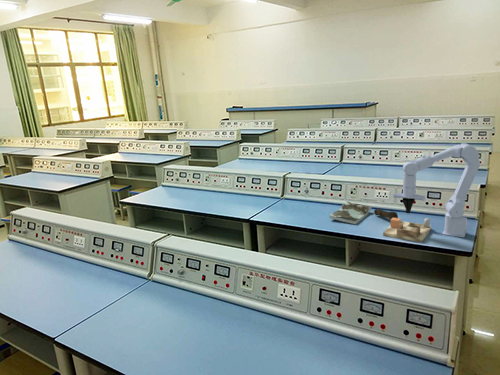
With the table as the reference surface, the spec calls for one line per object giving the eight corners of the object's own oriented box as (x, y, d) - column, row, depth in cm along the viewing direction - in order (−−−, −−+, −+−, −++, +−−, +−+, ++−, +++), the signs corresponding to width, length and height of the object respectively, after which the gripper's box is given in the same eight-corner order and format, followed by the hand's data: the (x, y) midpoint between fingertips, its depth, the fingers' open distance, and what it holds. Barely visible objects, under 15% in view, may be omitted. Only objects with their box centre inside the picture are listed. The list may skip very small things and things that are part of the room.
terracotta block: (400, 225, 191) (400, 218, 190) (398, 228, 188) (398, 220, 187) (392, 224, 193) (392, 217, 192) (390, 227, 190) (390, 219, 189)
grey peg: (430, 226, 188) (430, 218, 187) (429, 227, 185) (429, 220, 184) (424, 225, 189) (424, 217, 188) (423, 227, 187) (423, 219, 186)
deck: (431, 229, 189) (431, 219, 188) (421, 242, 174) (422, 232, 173) (394, 223, 200) (394, 215, 199) (383, 236, 184) (383, 227, 183)
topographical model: (355, 225, 202) (355, 217, 201) (329, 221, 211) (329, 213, 210) (371, 211, 222) (371, 204, 221) (346, 208, 231) (346, 201, 230)
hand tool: (374, 215, 214) (373, 208, 213) (380, 214, 215) (379, 206, 214) (393, 222, 196) (392, 214, 195) (399, 221, 196) (399, 212, 196)
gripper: (427, 185, 180) (425, 212, 184) (396, 183, 189) (395, 208, 192) (423, 189, 175) (422, 216, 178) (392, 186, 183) (391, 212, 187)
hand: (408, 212), depth 185 cm, fingers closed
